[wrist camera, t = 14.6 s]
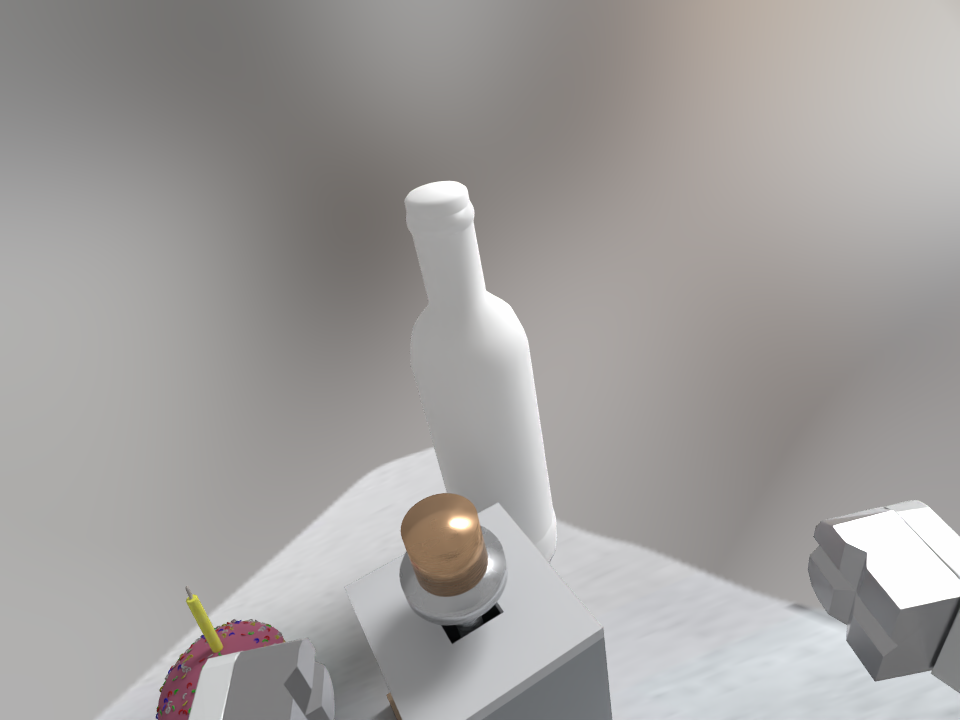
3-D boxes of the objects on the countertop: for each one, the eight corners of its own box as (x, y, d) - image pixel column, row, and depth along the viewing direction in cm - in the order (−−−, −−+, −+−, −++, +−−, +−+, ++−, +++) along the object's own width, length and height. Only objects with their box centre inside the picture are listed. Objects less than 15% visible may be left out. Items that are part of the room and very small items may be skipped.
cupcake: (206, 673, 45) (128, 572, 39) (319, 647, 46) (261, 542, 39) (175, 805, 38) (73, 709, 32) (309, 773, 39) (235, 671, 32)
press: (527, 617, 45) (501, 493, 38) (627, 755, 36) (618, 629, 29) (390, 704, 41) (332, 585, 34) (466, 879, 33) (410, 770, 26)
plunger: (517, 636, 42) (472, 442, 32) (585, 734, 36) (554, 535, 26) (418, 699, 40) (336, 511, 30) (474, 816, 34) (395, 630, 24)
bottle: (443, 553, 51) (336, 208, 34) (503, 493, 55) (434, 162, 39) (518, 602, 46) (434, 228, 29) (577, 532, 50) (534, 172, 34)
